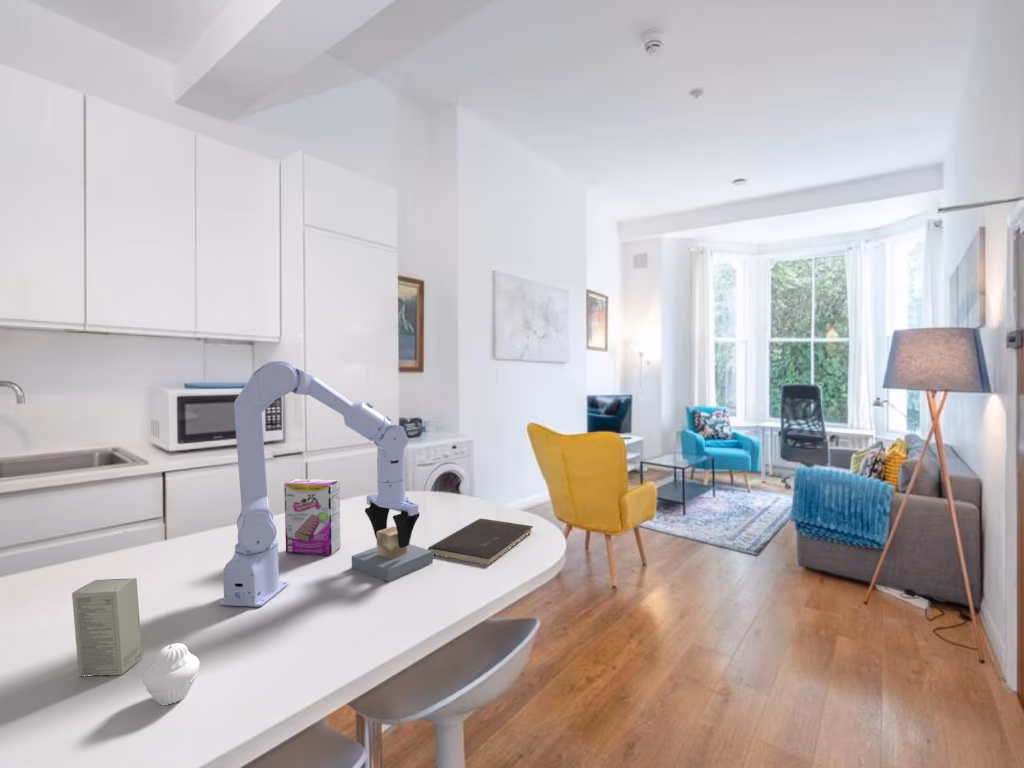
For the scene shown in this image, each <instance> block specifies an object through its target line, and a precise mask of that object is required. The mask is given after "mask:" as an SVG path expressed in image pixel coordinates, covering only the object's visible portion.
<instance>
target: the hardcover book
mask: <svg viewBox="0 0 1024 768" xmlns="http://www.w3.org/2000/svg"><path fill="white" fill-rule="evenodd" d="M533 527H534V526H533V525H527V524H520V523H514V522H507V521H500V520H494V519H493V520H492V519H487V518H480V517H479V518H477V519H476V520H475V521H473V522H471V523H469V524H467V525H466V526H464V527H462V528H461V529H458V530H457V531H454V532H453V533H451V534H449V535H448V536H445V538H443V539H440V540H439V541H437V542H436V543H434V544H432V545H431V546H429V547H428V548H427V550H430V551H433V554H437V555H436V556H438V555H442V556H441V557H443V556H447V557H446V558H448V557H452V558H451V559H453V558H457V559H456V560H459V559H462V560H461V561H464V560H466V561H465V562H469V561H470V562H471V563H474V562H477V563H476V564H479V563H482V564H481V565H484V564H487V565H486V566H490V565H491V564H492V563H494V562H495V561H496V560H497V559H496V558H498V557H499V556H500V555H501V556H503V555H504V554H505V553H507V552H508V551H509V550H510V549H509V548H510V547H512V546H513V545H514V544H516V543H517V542H518V541H519V540H521V539H522V538H523V537H525V536H526V535H527V534H529V533H530V532H531V533H532V529H533ZM531 533H530V534H531ZM530 534H529V535H530ZM526 537H527V536H526ZM526 537H525V538H526ZM522 540H523V539H522ZM522 540H521V541H522ZM518 543H519V542H518ZM518 543H517V544H518ZM517 544H516V545H517ZM513 547H514V546H513ZM513 547H512V548H513ZM508 549H509V550H508ZM507 550H508V551H507ZM506 551H507V552H506ZM504 552H505V553H504ZM503 553H504V554H503ZM502 554H503V555H502ZM501 556H500V557H501ZM500 557H499V558H500ZM499 558H498V559H499ZM495 559H496V560H495ZM494 560H495V561H494ZM493 561H494V562H493ZM491 562H492V563H491ZM490 563H491V564H490ZM489 564H490V565H489Z"/></svg>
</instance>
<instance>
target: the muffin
mask: <svg viewBox="0 0 1024 768" xmlns="http://www.w3.org/2000/svg"><path fill="white" fill-rule="evenodd" d="M199 669H200V659H199V658H198V657H197V656H196V655H195V654H193V653H191V652H190V651H189V650H188V647H187V646H186V645H185V644H184V643H179V642H178V643H172V644H168V645H166V646H165V645H164V647H162V648H160V649H159V651H158V652H157V653H156V654H155V657H154V660H153V662H152V664H150V665H149V667H148V668H147V669H146V670H145V672H144V674H143V677H142V683H143V686H144V687H145V689H146V691H147V692H148V694H149V695H150V696H151V697H152V698H153V699H154V700H155V701H156V702H157V704H159V703H160V704H164V705H163V706H169V705H168V704H171V705H173V704H172V703H174V704H177V703H178V701H179V702H180V701H183V699H185V698H186V697H187V695H189V692H190V690H191V688H192V685H193V684H194V681H195V680H196V678H197V675H198V671H199ZM176 702H177V703H176ZM160 704H159V705H160ZM166 704H167V705H166Z"/></svg>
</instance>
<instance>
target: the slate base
mask: <svg viewBox="0 0 1024 768" xmlns="http://www.w3.org/2000/svg"><path fill="white" fill-rule="evenodd" d="M433 560H434V557H433V551H430V550H428V548H427V549H426V548H424V547H421V546H417V545H413V544H411V543H409V546H407V553H406V554H403V555H401V556H398V557H395V558H393V559H388V558H385V557H382V556H379V555H377V546H375V547H373V548H370V549H367V550H364V551H362V552H359V553H356V554H353V555H351V568H353V569H354V570H356V571H360V572H363V573H364V572H365V574H367V575H369V574H370V576H371V577H374V576H375V577H374V578H378V579H379V578H380V579H379V580H383V581H384V580H385V582H388V583H390V582H392V581H395V580H396V578H397V579H399V578H401V577H404V576H405V574H406V575H408V574H410V573H413V572H415V571H417V570H420V569H422V568H424V567H426V566H428V565H427V564H429V565H430V563H431V564H433V563H434V561H433ZM432 562H433V563H432ZM425 565H426V566H425ZM423 566H424V567H423ZM421 567H422V568H421ZM414 570H415V571H414ZM412 571H413V572H412ZM407 573H408V574H407ZM403 575H404V576H403ZM394 579H395V580H394Z"/></svg>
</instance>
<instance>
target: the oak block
mask: <svg viewBox="0 0 1024 768" xmlns="http://www.w3.org/2000/svg"><path fill="white" fill-rule="evenodd" d="M376 547H377V555H379V556H382V557H385V558H388V559H393V558H395V557H398V556H401V555H403V554H406V553H407V546H406V547H403V548H400V547H399V543H398V533H397V528H396V526H394V525H392V526H389V527H387V528H386V529H383V530H380V531H377V540H376Z"/></svg>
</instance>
